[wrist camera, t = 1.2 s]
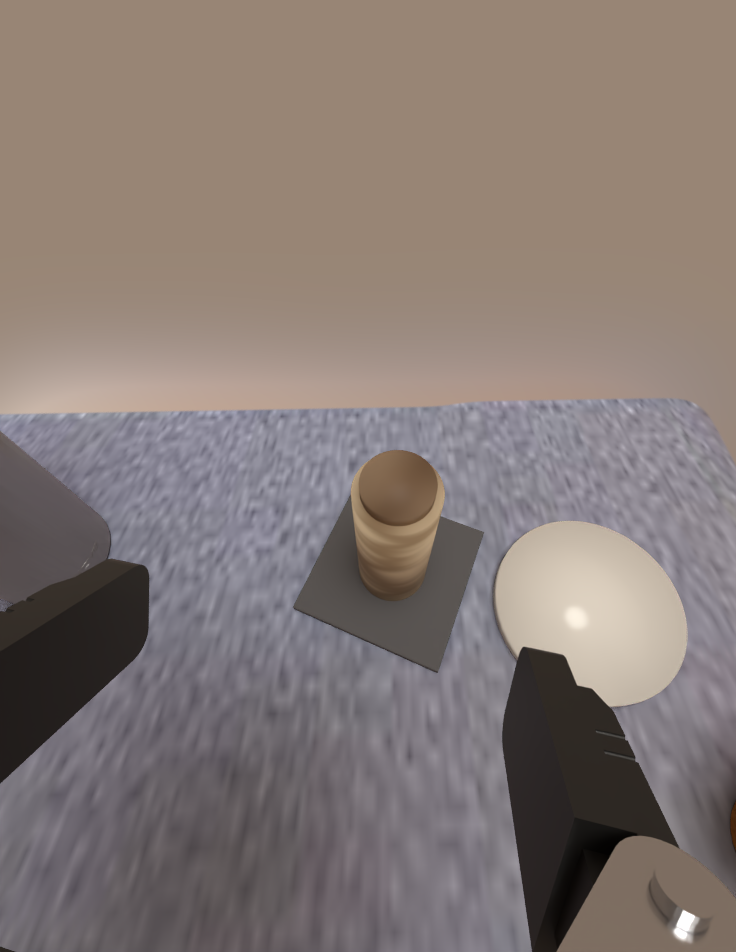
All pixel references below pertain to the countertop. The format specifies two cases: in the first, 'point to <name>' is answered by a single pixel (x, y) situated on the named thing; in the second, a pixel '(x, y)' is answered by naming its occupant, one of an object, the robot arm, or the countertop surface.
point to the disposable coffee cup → (733, 825)
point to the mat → (392, 622)
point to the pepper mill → (395, 521)
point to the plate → (593, 609)
